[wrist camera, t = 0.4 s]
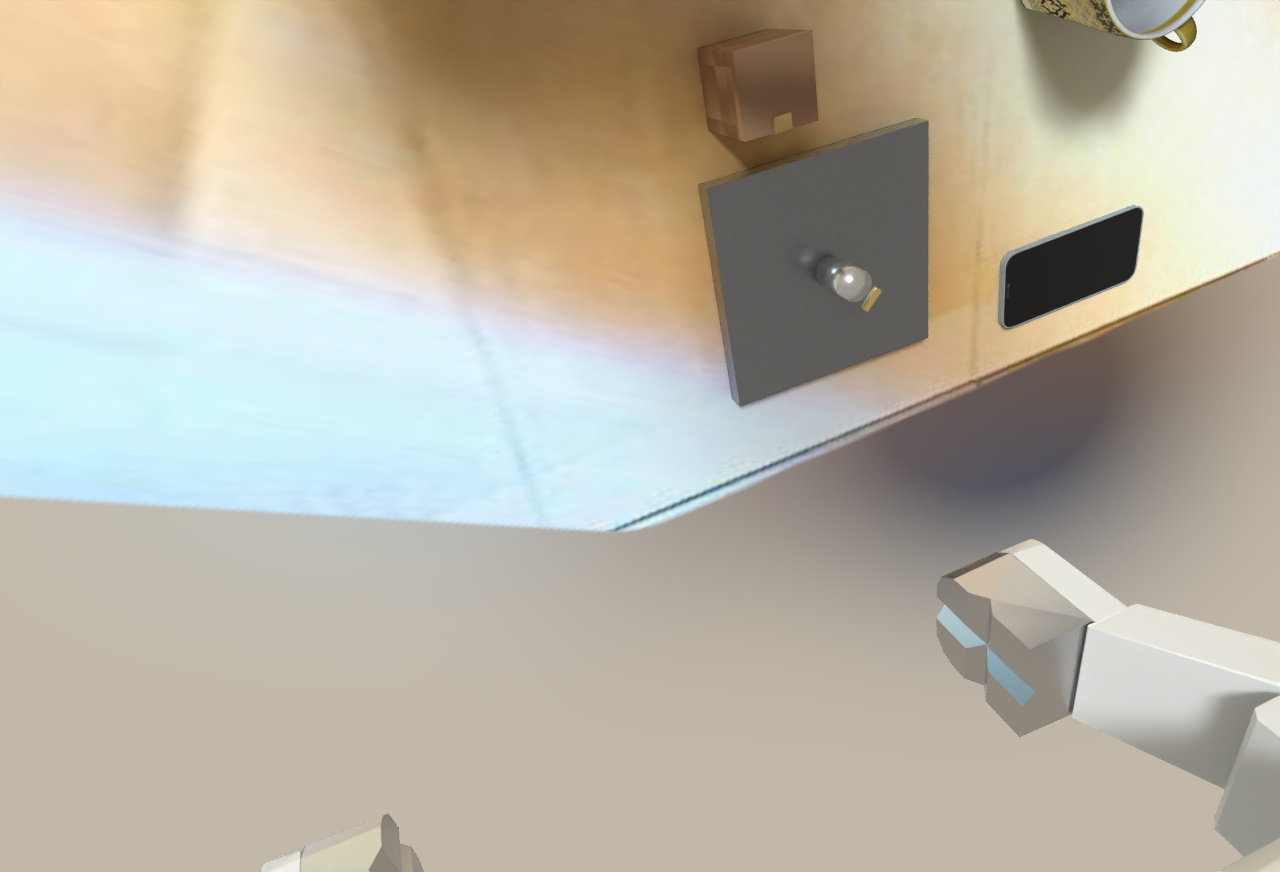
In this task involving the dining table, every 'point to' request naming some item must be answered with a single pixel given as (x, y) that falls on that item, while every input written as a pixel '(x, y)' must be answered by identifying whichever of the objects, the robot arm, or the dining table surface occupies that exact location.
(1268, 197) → the dining table surface
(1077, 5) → the ceramic cup
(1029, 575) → the robot arm
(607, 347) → the dining table surface
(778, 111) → the taped cardboard carton
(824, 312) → the plate
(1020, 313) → the smartphone
